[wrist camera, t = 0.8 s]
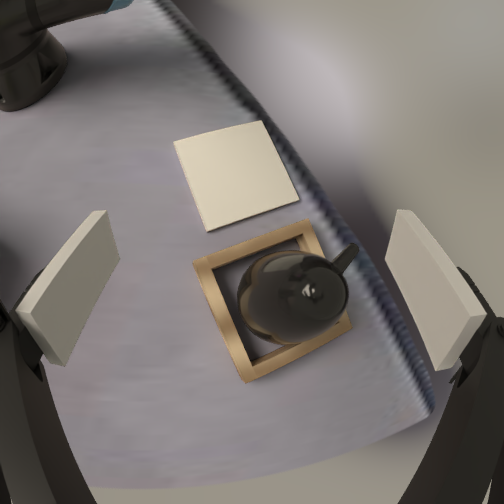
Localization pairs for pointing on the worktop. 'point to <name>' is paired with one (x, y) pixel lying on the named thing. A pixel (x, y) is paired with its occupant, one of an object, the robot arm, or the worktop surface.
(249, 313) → the black egg-shaped piece
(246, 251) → the wooden picture frame
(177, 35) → the worktop surface
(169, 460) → the worktop surface
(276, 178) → the tile
